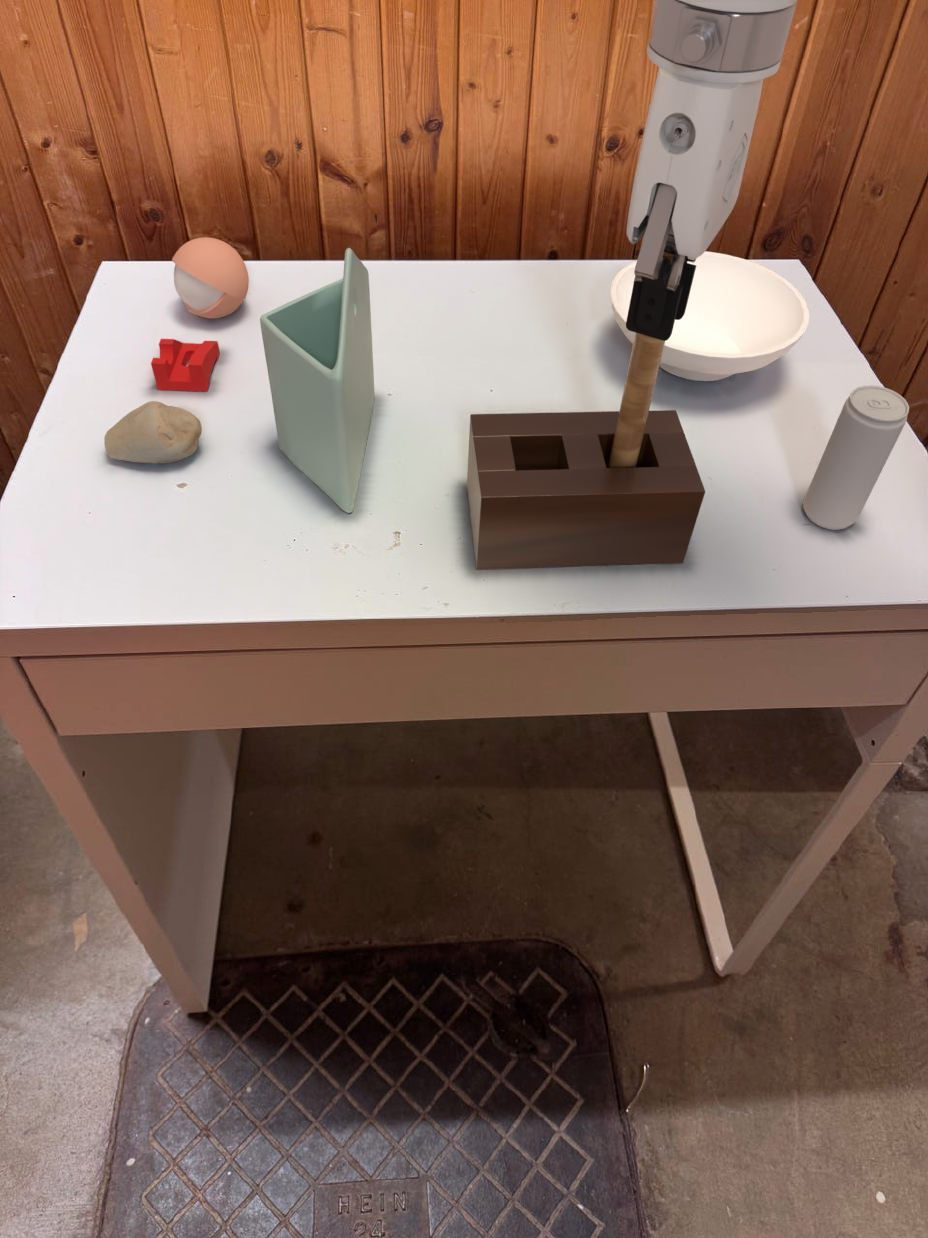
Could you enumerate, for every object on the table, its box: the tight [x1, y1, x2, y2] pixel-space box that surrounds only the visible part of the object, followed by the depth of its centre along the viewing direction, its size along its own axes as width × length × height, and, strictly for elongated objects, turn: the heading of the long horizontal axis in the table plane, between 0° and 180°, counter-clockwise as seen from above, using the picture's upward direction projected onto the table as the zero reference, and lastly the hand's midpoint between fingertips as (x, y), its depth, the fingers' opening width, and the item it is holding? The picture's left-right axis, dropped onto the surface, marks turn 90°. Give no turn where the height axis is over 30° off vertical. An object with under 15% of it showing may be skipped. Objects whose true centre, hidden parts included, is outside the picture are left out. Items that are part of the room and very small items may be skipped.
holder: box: [466, 409, 706, 571], centre depth 77 cm, size 10×17×8 cm, turn 94°
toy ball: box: [171, 236, 250, 319], centre depth 96 cm, size 8×8×8 cm
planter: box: [259, 247, 376, 514], centre depth 78 cm, size 16×8×20 cm, turn 177°
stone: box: [103, 400, 203, 464], centre depth 83 cm, size 7×6×8 cm
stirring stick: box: [608, 252, 674, 468], centre depth 69 cm, size 2×2×20 cm
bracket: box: [150, 338, 221, 393], centre depth 91 cm, size 6×5×3 cm
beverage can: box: [802, 384, 910, 531], centre depth 77 cm, size 5×5×12 cm
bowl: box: [609, 250, 810, 382], centre depth 94 cm, size 20×20×7 cm
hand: (654, 321), depth 65 cm, fingers closed on stirring stick, 2 cm apart
